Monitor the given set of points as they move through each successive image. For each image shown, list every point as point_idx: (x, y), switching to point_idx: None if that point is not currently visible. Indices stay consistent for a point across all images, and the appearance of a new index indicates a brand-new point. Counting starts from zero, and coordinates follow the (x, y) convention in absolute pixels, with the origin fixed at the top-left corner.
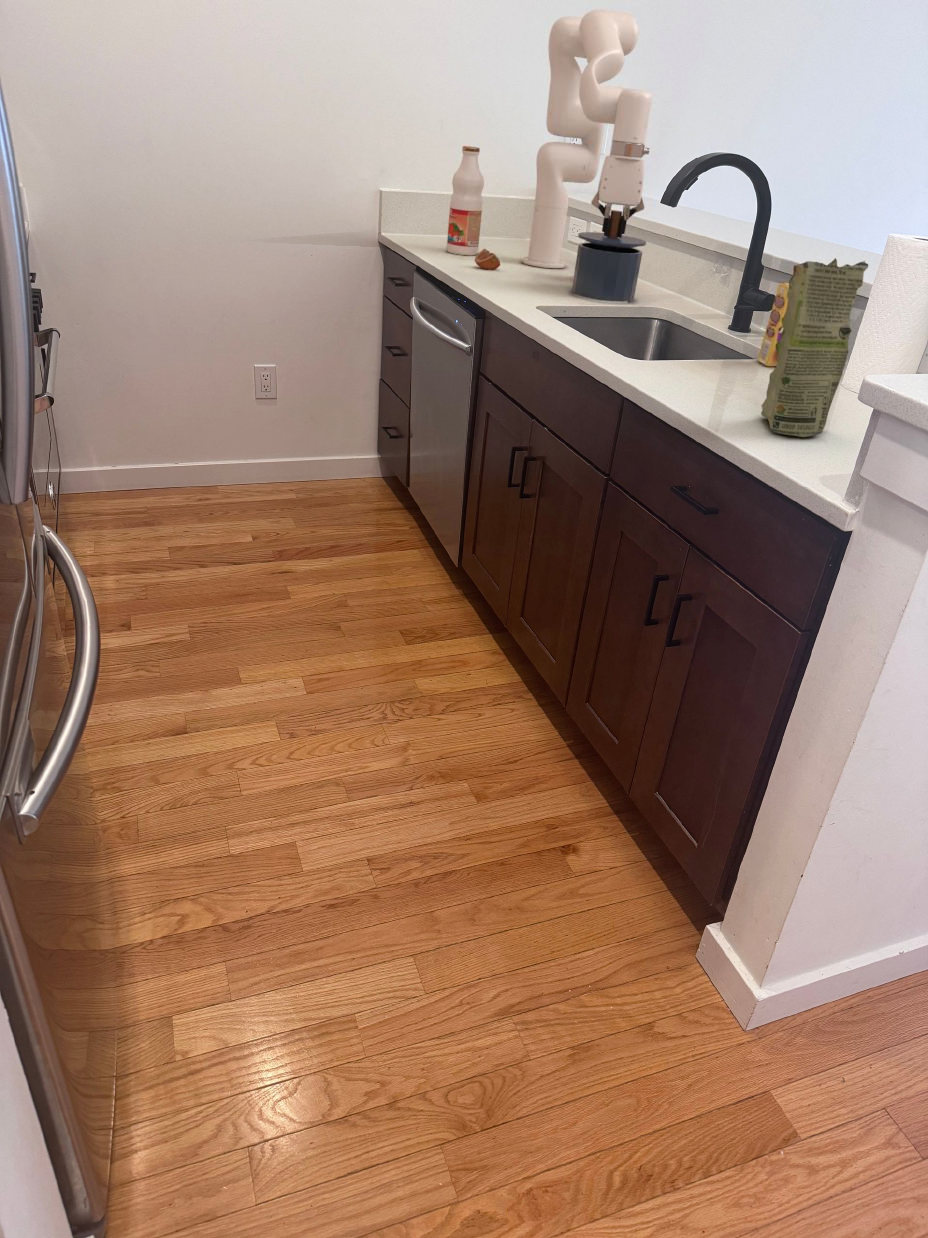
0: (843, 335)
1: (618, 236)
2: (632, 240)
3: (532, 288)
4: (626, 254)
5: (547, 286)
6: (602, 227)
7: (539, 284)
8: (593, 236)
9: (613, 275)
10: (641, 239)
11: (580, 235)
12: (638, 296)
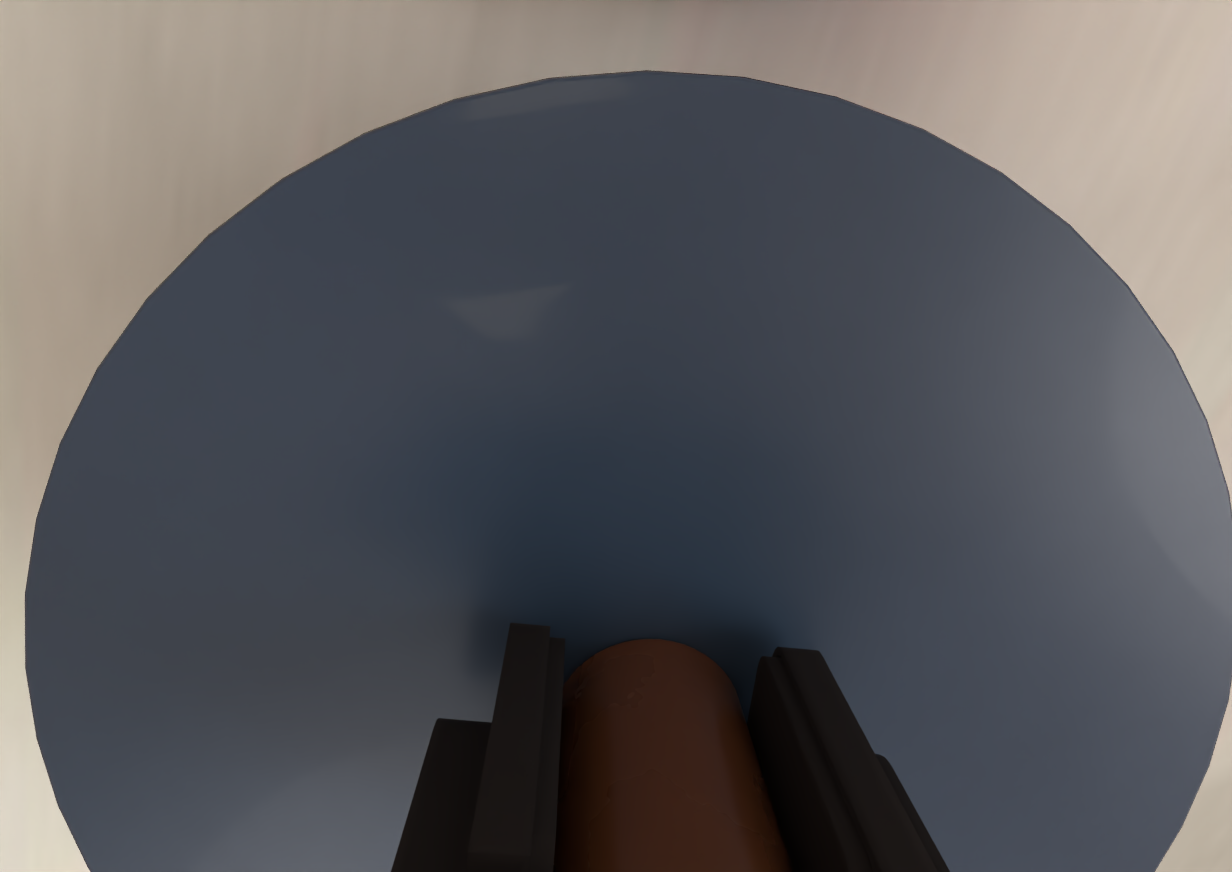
0: None
1: None
2: (960, 812)
3: (7, 311)
4: None
5: (153, 146)
6: (427, 759)
7: (75, 66)
8: (296, 762)
9: None
10: (1229, 588)
11: (56, 784)
12: None
